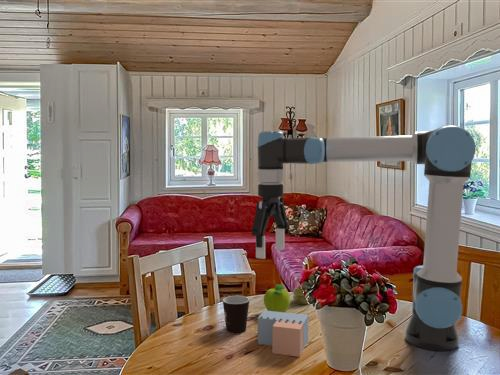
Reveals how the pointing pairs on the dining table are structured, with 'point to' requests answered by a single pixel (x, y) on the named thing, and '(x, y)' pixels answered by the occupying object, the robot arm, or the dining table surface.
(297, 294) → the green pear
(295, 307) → the dining table surface
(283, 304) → the fruit
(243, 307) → the coffee mug
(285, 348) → the block
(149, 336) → the dining table surface
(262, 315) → the pad
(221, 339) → the dining table surface
